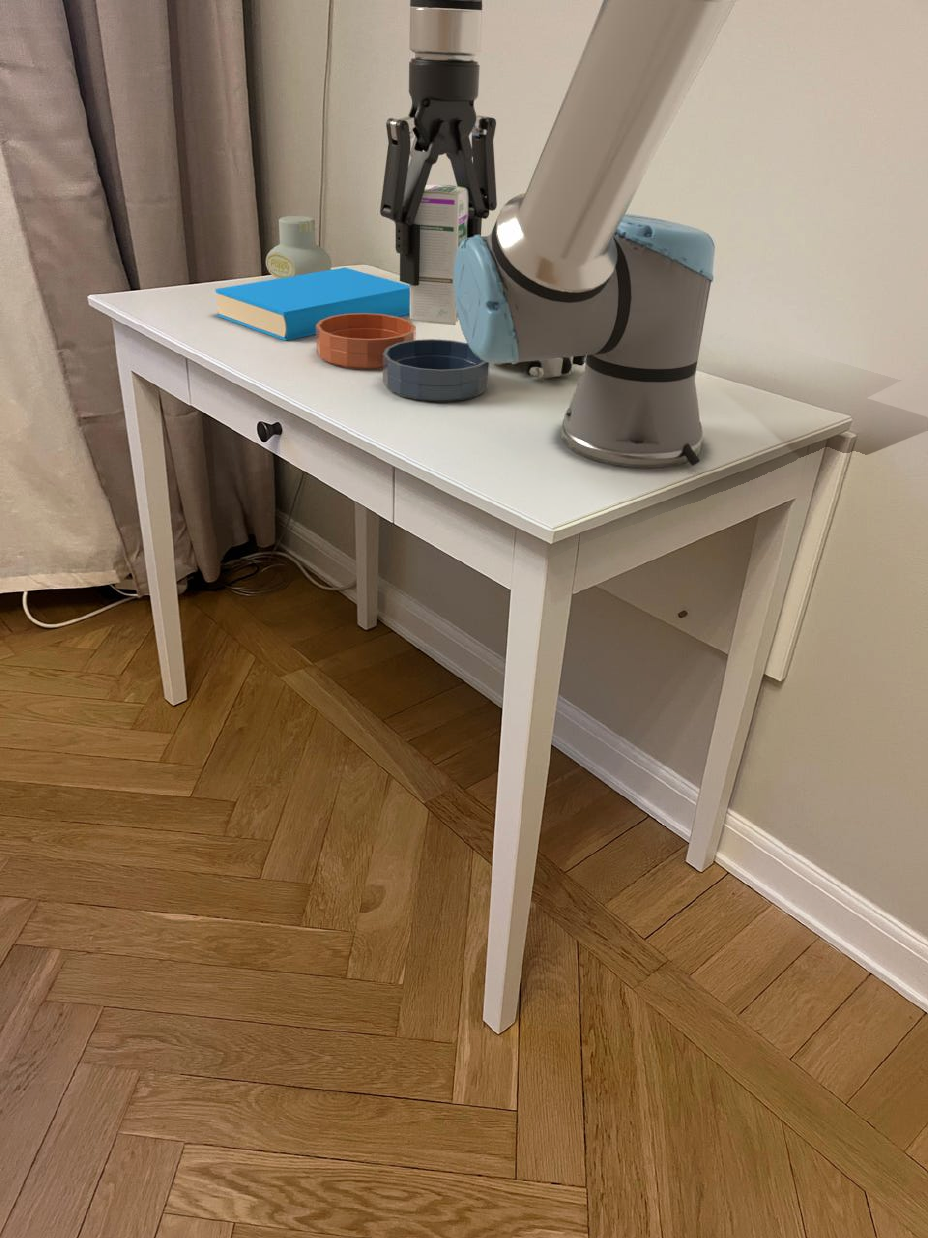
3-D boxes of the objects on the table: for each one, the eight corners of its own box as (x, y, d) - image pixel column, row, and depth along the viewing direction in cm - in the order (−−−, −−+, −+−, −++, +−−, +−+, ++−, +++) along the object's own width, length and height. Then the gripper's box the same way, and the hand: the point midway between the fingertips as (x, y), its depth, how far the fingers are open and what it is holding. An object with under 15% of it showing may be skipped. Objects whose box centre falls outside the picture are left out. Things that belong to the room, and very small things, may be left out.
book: (213, 289, 144) (343, 264, 160) (216, 318, 146) (344, 291, 162) (287, 313, 134) (417, 284, 150) (289, 344, 137) (417, 313, 153)
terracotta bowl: (434, 360, 132) (435, 330, 130) (354, 376, 125) (353, 345, 123) (377, 337, 140) (377, 308, 138) (299, 351, 133) (297, 321, 131)
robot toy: (599, 381, 130) (524, 344, 139) (605, 347, 127) (528, 312, 136) (531, 397, 123) (457, 358, 132) (535, 362, 120) (459, 324, 130)
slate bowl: (509, 390, 122) (511, 359, 120) (427, 410, 115) (427, 377, 113) (443, 364, 131) (444, 333, 129) (363, 380, 123) (362, 349, 121)
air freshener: (259, 278, 167) (255, 216, 162) (296, 272, 173) (293, 211, 168) (303, 290, 162) (300, 226, 156) (339, 283, 167) (338, 220, 162)
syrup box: (456, 326, 116) (461, 193, 108) (407, 321, 117) (409, 189, 109) (465, 314, 121) (471, 186, 113) (418, 309, 122) (421, 182, 114)
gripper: (494, 56, 113) (483, 263, 125) (343, 53, 101) (347, 282, 113) (539, 60, 108) (523, 275, 120) (386, 58, 96) (386, 296, 108)
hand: (438, 278), depth 116 cm, fingers closed on syrup box, 8 cm apart
